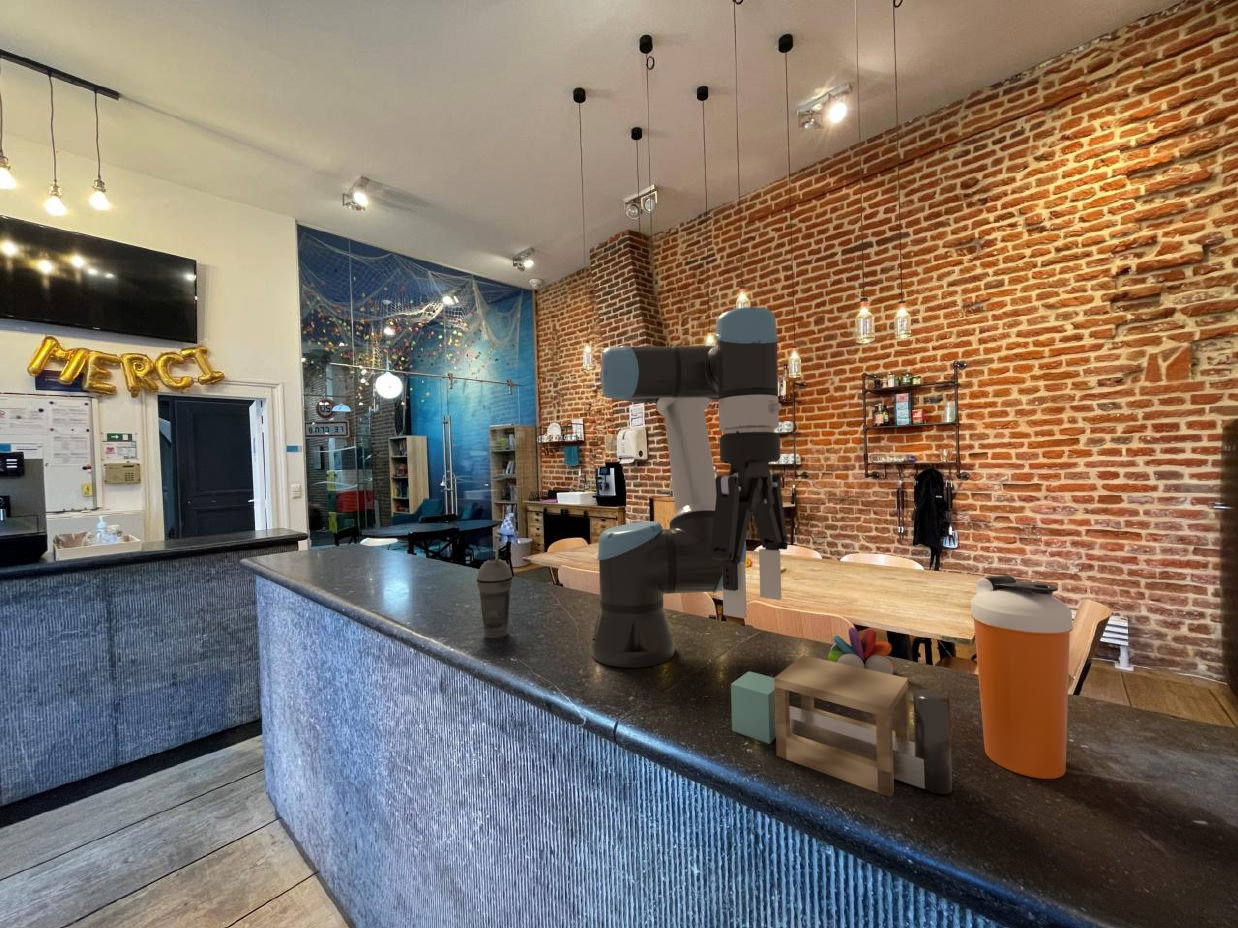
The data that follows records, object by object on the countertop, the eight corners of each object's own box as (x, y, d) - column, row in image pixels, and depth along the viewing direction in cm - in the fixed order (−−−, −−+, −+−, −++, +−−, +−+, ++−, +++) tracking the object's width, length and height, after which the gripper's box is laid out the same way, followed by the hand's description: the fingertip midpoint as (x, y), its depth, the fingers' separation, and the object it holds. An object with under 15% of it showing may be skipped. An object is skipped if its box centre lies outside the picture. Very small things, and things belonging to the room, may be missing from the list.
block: (732, 730, 65) (730, 683, 65) (750, 715, 69) (748, 671, 69) (769, 744, 62) (768, 694, 62) (786, 727, 65) (784, 680, 65)
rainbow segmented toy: (902, 687, 76) (901, 638, 76) (833, 683, 78) (832, 635, 78) (886, 665, 84) (884, 621, 84) (823, 662, 86) (822, 619, 86)
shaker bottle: (1047, 794, 51) (1041, 594, 51) (957, 750, 59) (952, 577, 59) (1095, 771, 54) (1089, 584, 55) (1004, 732, 63) (999, 569, 63)
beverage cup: (498, 626, 110) (495, 534, 110) (521, 632, 106) (519, 536, 106) (470, 636, 104) (467, 538, 104) (494, 643, 100) (491, 541, 100)
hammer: (772, 737, 62) (770, 663, 62) (783, 726, 65) (781, 655, 65) (949, 797, 50) (946, 706, 50) (954, 781, 53) (951, 695, 53)
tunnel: (776, 755, 59) (774, 677, 59) (805, 724, 66) (803, 654, 66) (891, 797, 51) (888, 707, 51) (910, 757, 58) (907, 678, 58)
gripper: (734, 426, 55) (740, 635, 54) (809, 433, 71) (814, 592, 71) (676, 431, 59) (681, 622, 59) (759, 436, 76) (763, 585, 76)
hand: (753, 606), depth 65 cm, fingers open, 9 cm apart
